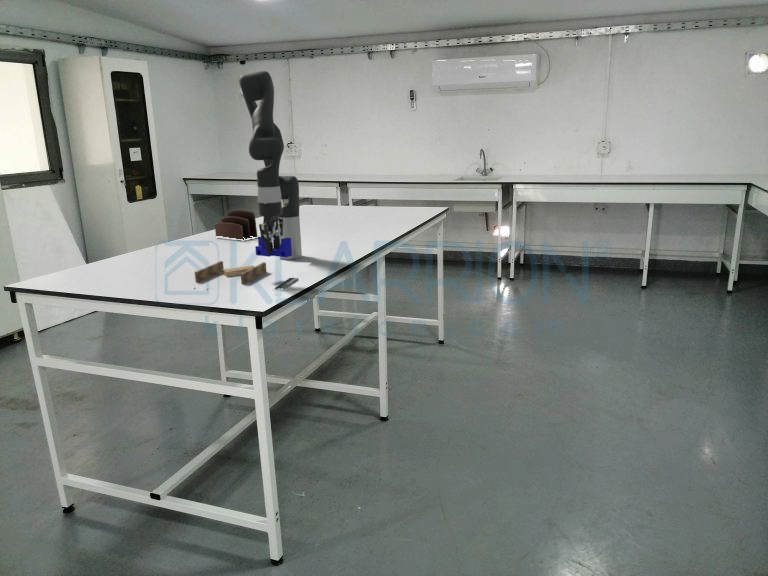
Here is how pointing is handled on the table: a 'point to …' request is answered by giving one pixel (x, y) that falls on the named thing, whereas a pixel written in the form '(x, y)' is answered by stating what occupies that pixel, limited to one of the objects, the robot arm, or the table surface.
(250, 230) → the letter holder
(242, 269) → the upper offcut
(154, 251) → the table surface
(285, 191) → the robot arm
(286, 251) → the blue curved piece
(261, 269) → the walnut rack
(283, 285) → the rubber mat
